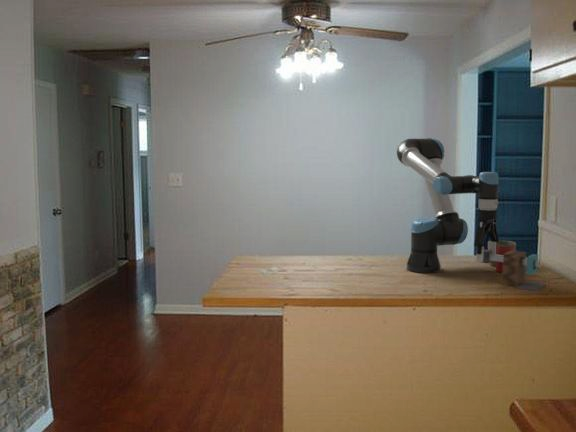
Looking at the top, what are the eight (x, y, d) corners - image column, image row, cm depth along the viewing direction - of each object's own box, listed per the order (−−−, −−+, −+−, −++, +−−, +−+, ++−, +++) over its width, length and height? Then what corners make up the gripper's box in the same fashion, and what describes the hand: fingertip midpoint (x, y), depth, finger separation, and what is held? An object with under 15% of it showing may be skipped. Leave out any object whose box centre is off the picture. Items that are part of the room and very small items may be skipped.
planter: (520, 265, 276) (521, 242, 274) (503, 269, 269) (505, 245, 267) (497, 261, 286) (498, 239, 284) (481, 264, 279) (482, 241, 277)
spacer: (526, 274, 235) (527, 256, 234) (531, 270, 240) (532, 254, 239) (531, 274, 234) (532, 257, 233) (537, 271, 239) (538, 254, 238)
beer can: (512, 273, 260) (513, 247, 258) (496, 273, 261) (498, 246, 259) (510, 270, 266) (511, 244, 265) (494, 270, 267) (495, 243, 266)
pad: (516, 288, 235) (516, 286, 235) (526, 282, 245) (526, 281, 244) (536, 291, 231) (536, 289, 231) (545, 285, 240) (546, 283, 240)
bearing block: (502, 284, 241) (503, 253, 239) (509, 280, 247) (511, 250, 246) (517, 287, 237) (518, 255, 235) (524, 283, 244) (526, 252, 242)
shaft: (479, 262, 249) (479, 250, 248) (482, 260, 252) (483, 249, 251) (535, 270, 234) (536, 257, 233) (538, 268, 237) (539, 256, 236)
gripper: (485, 212, 234) (483, 265, 236) (507, 207, 253) (505, 255, 255) (466, 211, 239) (465, 262, 241) (490, 205, 258) (488, 253, 260)
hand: (486, 259), depth 248 cm, fingers open, 13 cm apart
